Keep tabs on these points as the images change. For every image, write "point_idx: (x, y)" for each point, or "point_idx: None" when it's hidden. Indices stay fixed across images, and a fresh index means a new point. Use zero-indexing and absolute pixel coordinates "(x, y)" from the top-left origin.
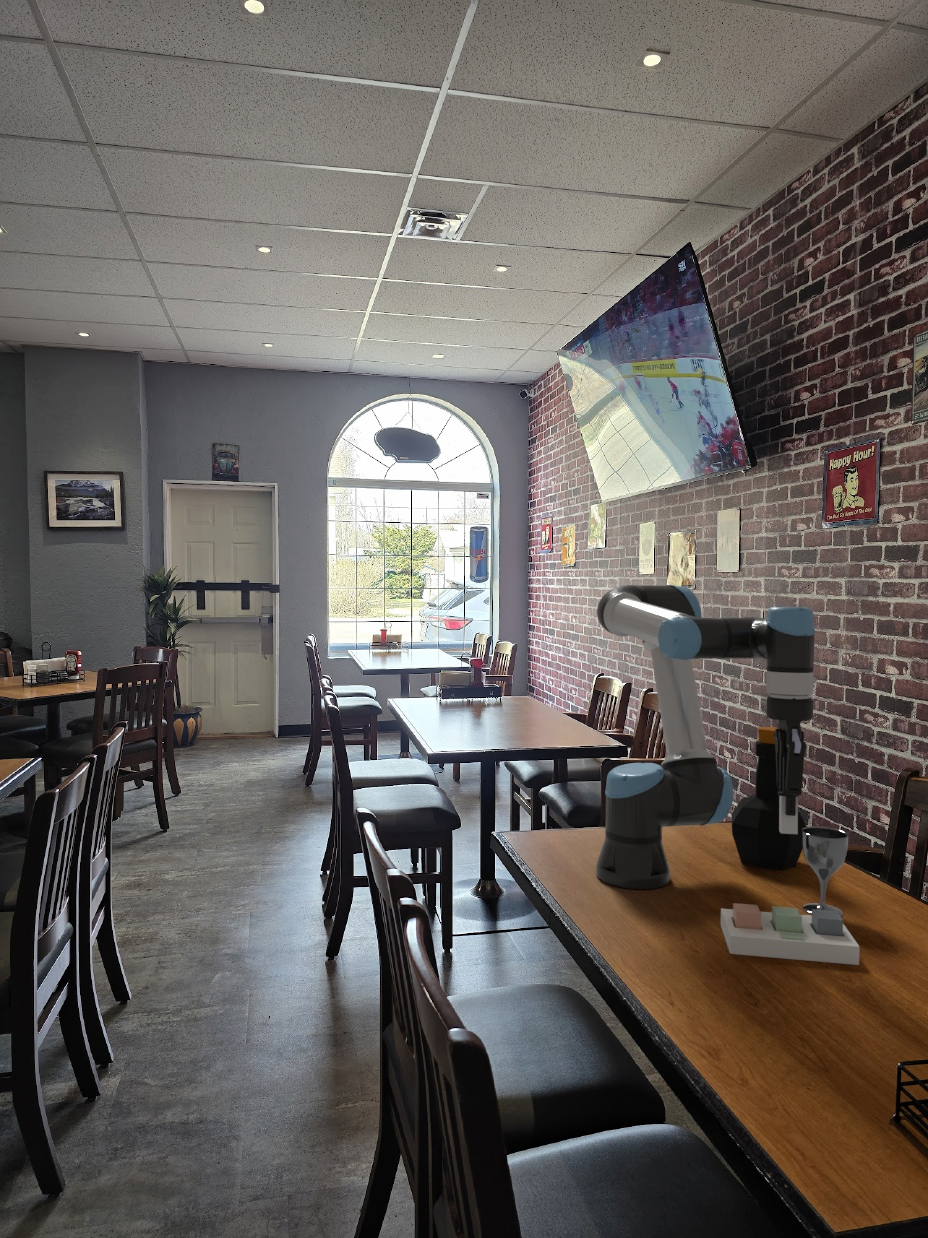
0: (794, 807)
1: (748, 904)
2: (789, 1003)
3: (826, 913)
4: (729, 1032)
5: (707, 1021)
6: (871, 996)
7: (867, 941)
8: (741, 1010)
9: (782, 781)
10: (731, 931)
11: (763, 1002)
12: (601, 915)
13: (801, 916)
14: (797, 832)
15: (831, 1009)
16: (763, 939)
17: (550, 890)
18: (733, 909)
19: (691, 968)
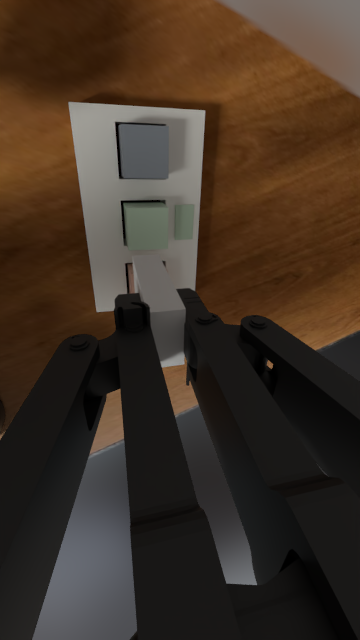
0: (200, 304)
1: (131, 286)
2: (297, 242)
3: (139, 152)
4: (337, 300)
5: (320, 316)
6: (285, 131)
7: (85, 46)
8: (306, 289)
9: (199, 405)
10: None
11: (294, 268)
12: (111, 416)
13: (166, 207)
14: (159, 256)
15: (311, 198)
16: (196, 263)
17: None
18: None
19: None
